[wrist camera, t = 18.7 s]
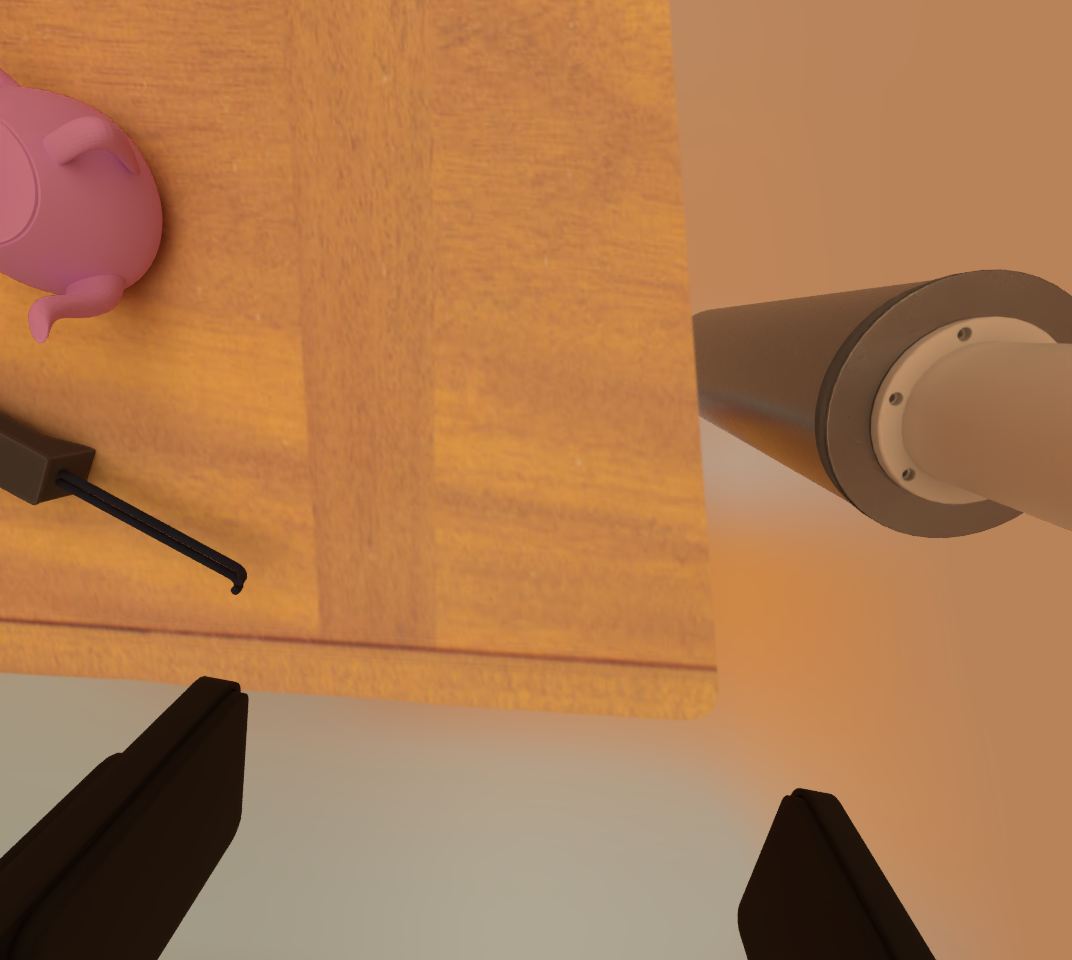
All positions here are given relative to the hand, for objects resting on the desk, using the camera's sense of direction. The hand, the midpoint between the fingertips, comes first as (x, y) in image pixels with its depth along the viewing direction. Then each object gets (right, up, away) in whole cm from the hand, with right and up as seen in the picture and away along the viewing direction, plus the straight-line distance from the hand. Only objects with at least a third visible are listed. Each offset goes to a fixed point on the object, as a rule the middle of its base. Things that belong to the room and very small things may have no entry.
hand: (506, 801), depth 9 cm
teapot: (-29, +24, +26) cm, 45 cm away
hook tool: (-33, +6, +31) cm, 46 cm away
